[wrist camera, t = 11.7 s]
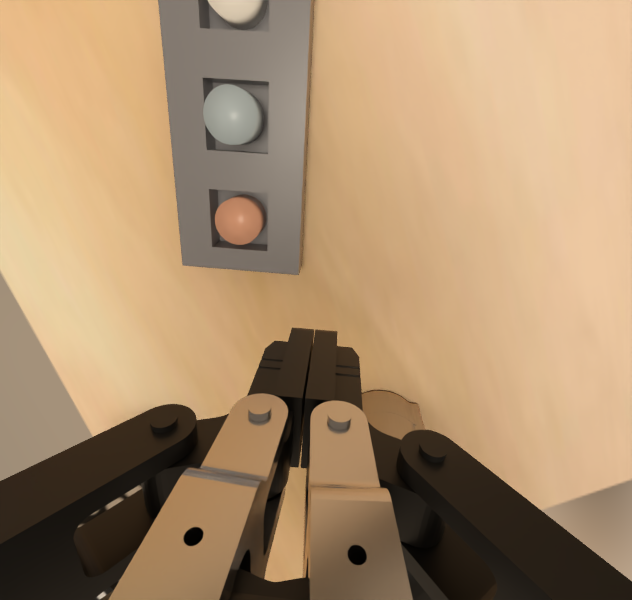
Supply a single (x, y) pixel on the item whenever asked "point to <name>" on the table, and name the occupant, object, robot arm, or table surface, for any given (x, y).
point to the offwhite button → (240, 12)
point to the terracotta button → (240, 219)
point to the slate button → (233, 115)
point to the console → (249, 159)
